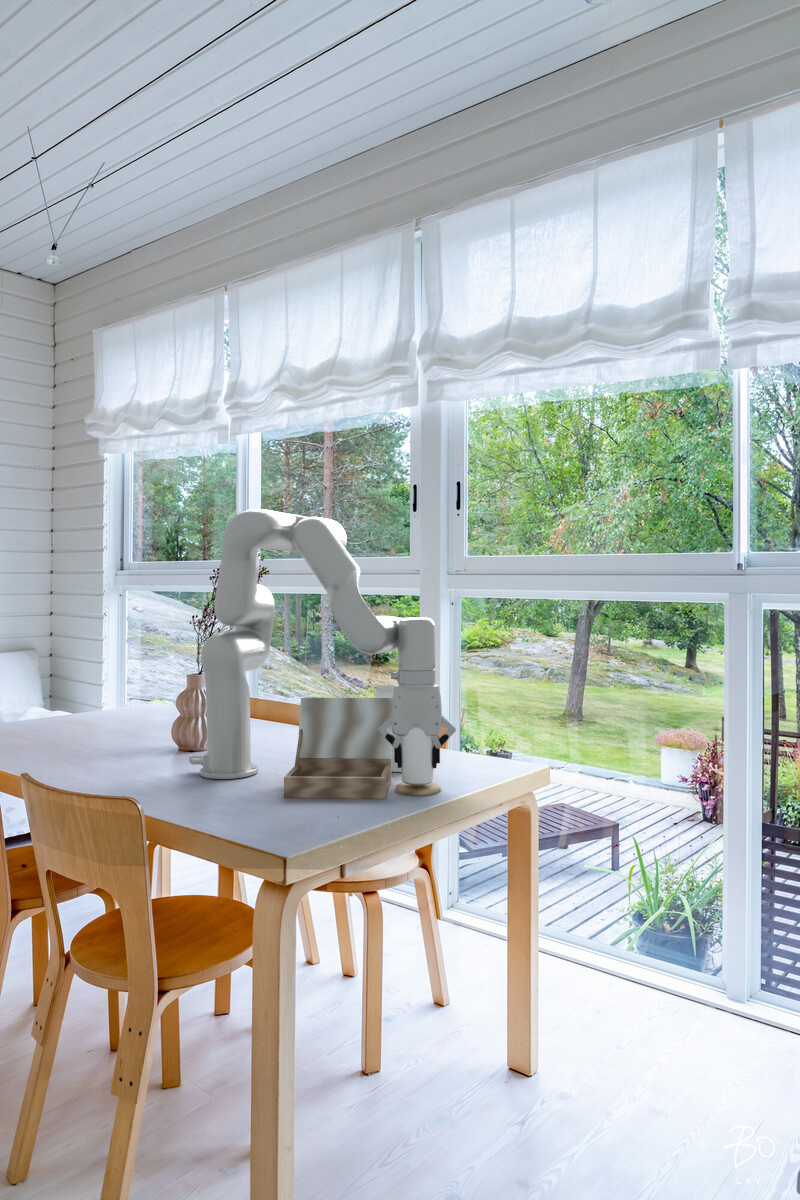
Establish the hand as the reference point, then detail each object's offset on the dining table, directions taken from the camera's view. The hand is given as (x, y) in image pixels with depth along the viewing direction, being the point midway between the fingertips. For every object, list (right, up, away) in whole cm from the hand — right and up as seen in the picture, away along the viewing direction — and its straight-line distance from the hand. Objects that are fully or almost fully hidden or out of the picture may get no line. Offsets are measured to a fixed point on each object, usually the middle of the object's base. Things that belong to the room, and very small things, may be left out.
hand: (417, 765), depth 162 cm
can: (0, -3, 0) cm, 3 cm away
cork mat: (0, -5, 0) cm, 5 cm away
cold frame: (-16, -5, +3) cm, 17 cm away
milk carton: (-5, -5, +20) cm, 21 cm away
